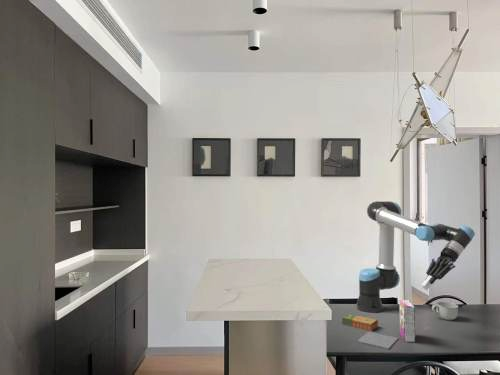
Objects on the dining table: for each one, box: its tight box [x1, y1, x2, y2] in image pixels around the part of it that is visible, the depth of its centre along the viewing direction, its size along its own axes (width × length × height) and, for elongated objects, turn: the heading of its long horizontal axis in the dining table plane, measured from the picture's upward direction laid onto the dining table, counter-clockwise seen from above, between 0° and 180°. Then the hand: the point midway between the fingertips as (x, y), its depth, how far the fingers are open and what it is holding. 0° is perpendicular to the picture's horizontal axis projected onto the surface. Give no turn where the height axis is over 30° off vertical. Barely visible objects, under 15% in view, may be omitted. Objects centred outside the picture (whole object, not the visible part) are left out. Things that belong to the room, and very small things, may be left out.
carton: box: [341, 313, 379, 332], centre depth 190 cm, size 8×16×4 cm, turn 49°
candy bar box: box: [398, 299, 416, 343], centre depth 174 cm, size 11×5×16 cm, turn 168°
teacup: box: [431, 300, 459, 321], centre depth 204 cm, size 14×11×8 cm
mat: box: [356, 331, 399, 350], centre depth 170 cm, size 15×14×1 cm
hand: (424, 287), depth 178 cm, fingers closed
